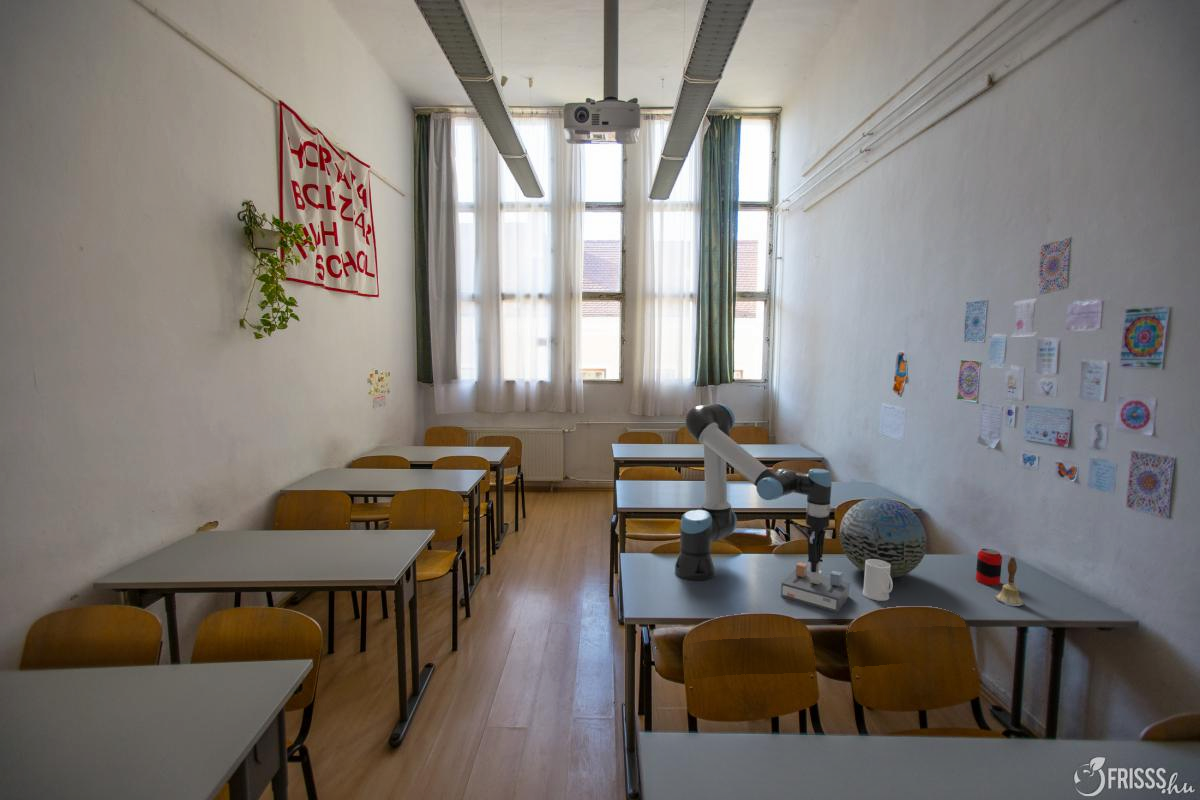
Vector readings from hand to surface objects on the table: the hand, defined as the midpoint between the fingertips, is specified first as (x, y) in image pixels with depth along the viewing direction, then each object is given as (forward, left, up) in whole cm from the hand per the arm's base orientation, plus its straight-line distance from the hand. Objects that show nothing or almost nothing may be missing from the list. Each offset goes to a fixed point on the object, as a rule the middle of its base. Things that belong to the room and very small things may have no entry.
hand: (814, 579), depth 196 cm
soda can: (+48, +57, -7) cm, 75 cm away
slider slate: (+6, +5, -2) cm, 8 cm away
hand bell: (+55, +42, -7) cm, 69 cm away
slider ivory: (0, +2, -2) cm, 3 cm away
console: (0, +2, -7) cm, 7 cm away
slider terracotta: (-6, +5, -2) cm, 8 cm away
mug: (+18, +16, -7) cm, 25 cm away
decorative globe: (+14, +38, -7) cm, 41 cm away
